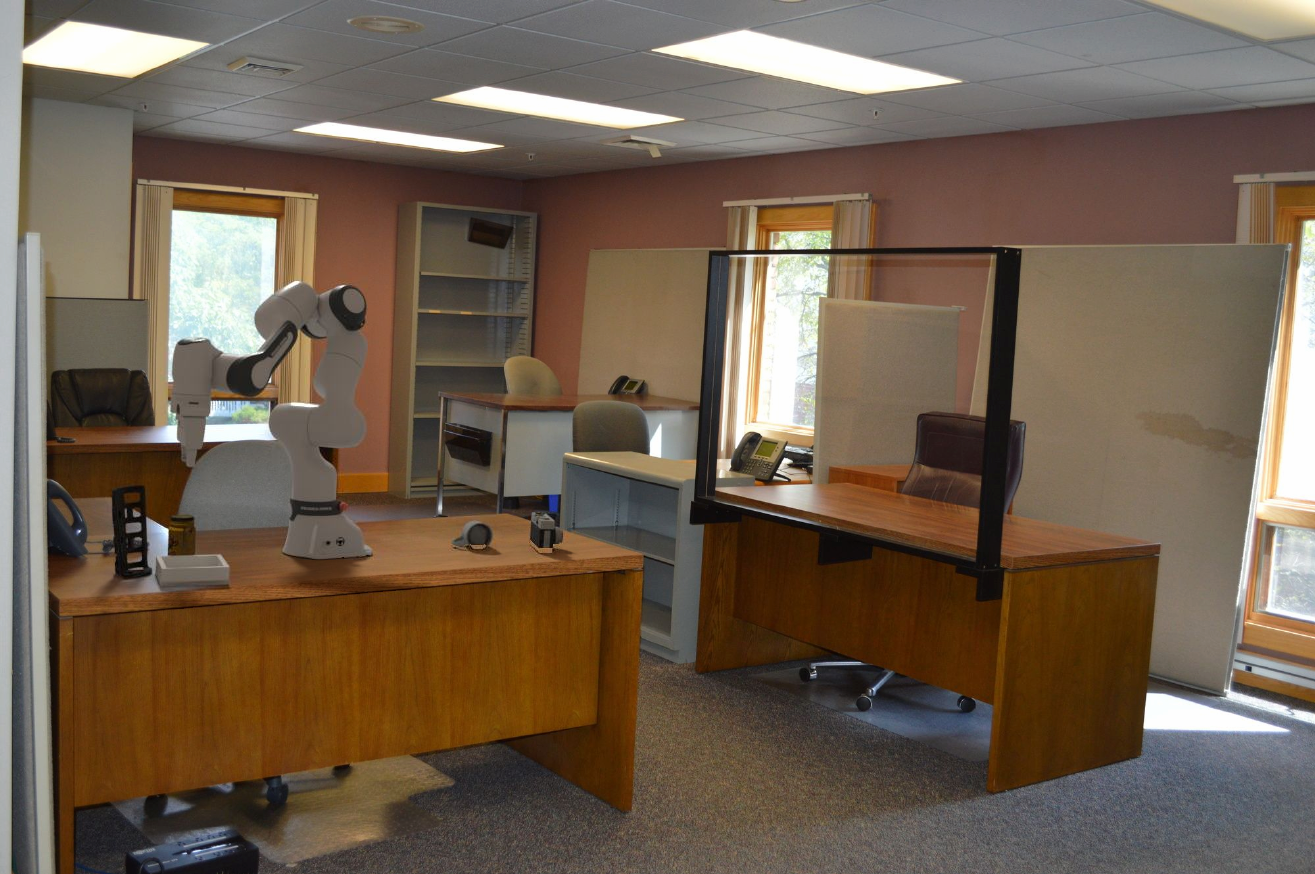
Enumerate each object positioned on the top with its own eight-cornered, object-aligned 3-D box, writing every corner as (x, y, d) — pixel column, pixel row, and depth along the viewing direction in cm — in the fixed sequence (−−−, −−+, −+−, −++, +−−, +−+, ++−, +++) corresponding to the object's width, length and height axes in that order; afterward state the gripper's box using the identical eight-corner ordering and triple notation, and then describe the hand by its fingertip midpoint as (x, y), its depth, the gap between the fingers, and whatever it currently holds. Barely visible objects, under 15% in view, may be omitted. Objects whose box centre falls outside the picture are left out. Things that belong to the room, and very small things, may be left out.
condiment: (158, 565, 268) (160, 515, 267) (186, 560, 276) (188, 511, 275) (181, 570, 265) (183, 519, 264) (209, 564, 273) (211, 515, 272)
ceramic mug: (484, 544, 325) (486, 517, 324) (492, 549, 317) (493, 522, 317) (448, 545, 321) (449, 518, 320) (455, 550, 313) (456, 523, 312)
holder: (140, 578, 252) (135, 490, 251) (105, 580, 252) (99, 491, 250) (158, 569, 263) (153, 484, 262) (124, 570, 263) (119, 485, 261)
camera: (566, 554, 319) (568, 519, 318) (537, 554, 317) (540, 518, 316) (555, 544, 332) (558, 511, 332) (528, 544, 330) (530, 510, 329)
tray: (220, 571, 267) (220, 554, 266) (228, 584, 254) (229, 566, 254) (155, 573, 260) (156, 555, 260) (161, 586, 248) (161, 568, 247)
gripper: (171, 402, 275) (169, 458, 276) (180, 409, 257) (178, 469, 258) (199, 403, 278) (197, 459, 279) (210, 410, 260) (207, 469, 261)
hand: (188, 464), depth 268 cm, fingers open, 8 cm apart
